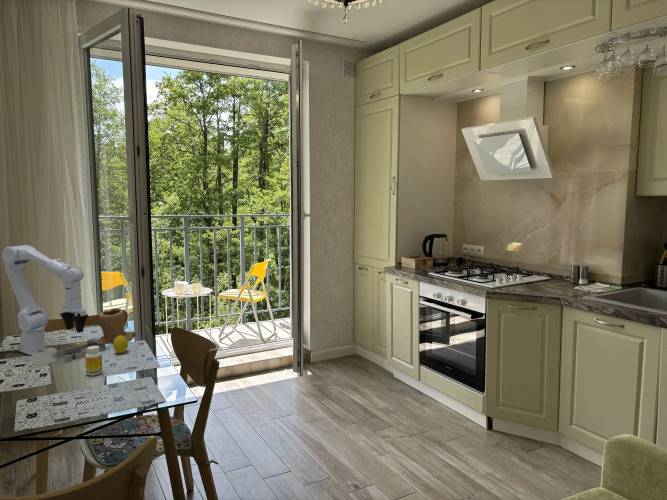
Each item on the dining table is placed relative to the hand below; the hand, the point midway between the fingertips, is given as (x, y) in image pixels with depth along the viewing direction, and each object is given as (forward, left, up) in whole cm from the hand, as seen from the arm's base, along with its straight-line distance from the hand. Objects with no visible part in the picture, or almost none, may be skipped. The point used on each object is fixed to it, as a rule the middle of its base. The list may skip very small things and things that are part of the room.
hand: (74, 330), depth 194 cm
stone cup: (-2, +19, -10) cm, 22 cm away
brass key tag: (-8, +7, -10) cm, 15 cm away
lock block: (0, -12, -10) cm, 16 cm away
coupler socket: (+1, +2, -10) cm, 10 cm away
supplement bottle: (+27, -8, -10) cm, 30 cm away
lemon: (+15, +10, -10) cm, 21 cm away
